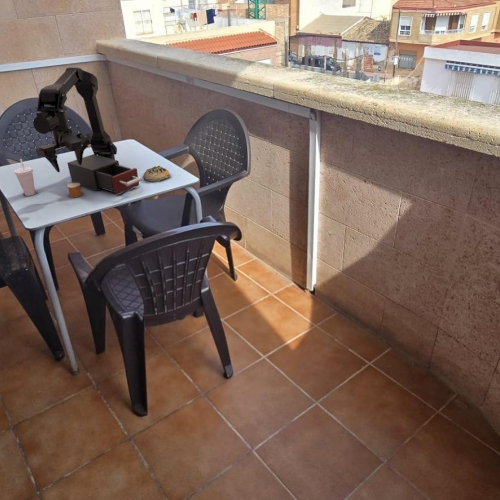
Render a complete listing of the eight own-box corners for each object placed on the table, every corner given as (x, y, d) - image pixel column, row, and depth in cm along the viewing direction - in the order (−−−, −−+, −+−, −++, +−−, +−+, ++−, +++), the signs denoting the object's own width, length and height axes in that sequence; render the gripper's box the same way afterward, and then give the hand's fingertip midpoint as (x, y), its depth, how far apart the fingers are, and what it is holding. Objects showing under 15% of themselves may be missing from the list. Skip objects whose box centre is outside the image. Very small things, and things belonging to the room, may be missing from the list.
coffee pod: (77, 191, 167) (75, 181, 165) (85, 194, 165) (82, 184, 163) (66, 195, 164) (64, 185, 162) (74, 198, 161) (71, 188, 159)
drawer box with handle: (121, 181, 176) (118, 160, 171) (96, 191, 167) (92, 170, 163) (97, 173, 184) (93, 154, 179) (72, 183, 175) (67, 162, 170)
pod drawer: (148, 187, 167) (145, 170, 164) (125, 197, 159) (122, 180, 156) (114, 177, 177) (111, 161, 173) (92, 186, 169) (88, 170, 165)
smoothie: (27, 198, 162) (17, 162, 155) (17, 195, 165) (6, 159, 158) (42, 192, 167) (32, 157, 160) (32, 189, 170) (22, 154, 163)
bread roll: (154, 170, 185) (154, 159, 182) (175, 177, 181) (175, 166, 178) (137, 179, 177) (136, 168, 174) (158, 187, 173) (158, 176, 170)
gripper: (48, 135, 140) (60, 180, 148) (95, 123, 153) (104, 165, 161) (29, 130, 146) (41, 174, 154) (76, 119, 159) (85, 159, 167)
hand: (69, 168), depth 159 cm, fingers open, 9 cm apart
